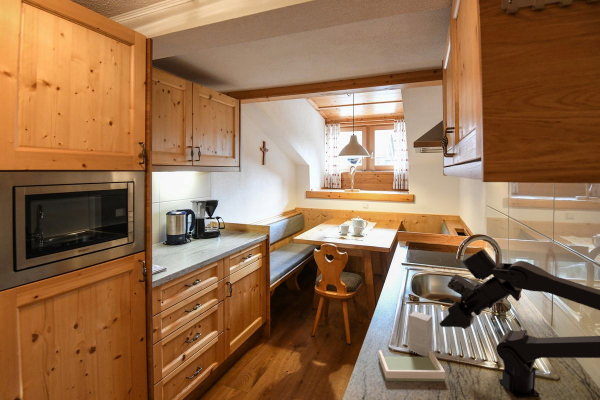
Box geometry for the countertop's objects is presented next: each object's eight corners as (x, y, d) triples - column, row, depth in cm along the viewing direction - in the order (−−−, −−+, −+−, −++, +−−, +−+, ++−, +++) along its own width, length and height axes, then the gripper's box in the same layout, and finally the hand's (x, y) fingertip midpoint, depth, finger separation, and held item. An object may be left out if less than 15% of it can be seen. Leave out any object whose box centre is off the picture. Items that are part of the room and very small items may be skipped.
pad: (431, 359, 97) (431, 350, 96) (444, 381, 87) (445, 371, 86) (378, 358, 97) (378, 350, 97) (386, 380, 87) (386, 371, 87)
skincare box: (432, 352, 100) (433, 316, 99) (427, 358, 97) (428, 321, 96) (413, 345, 105) (414, 310, 103) (408, 350, 101) (408, 315, 100)
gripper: (475, 261, 96) (437, 287, 105) (457, 277, 83) (414, 306, 91) (504, 292, 92) (462, 317, 100) (490, 315, 78) (442, 341, 87)
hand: (445, 319), depth 95 cm, fingers open, 9 cm apart
